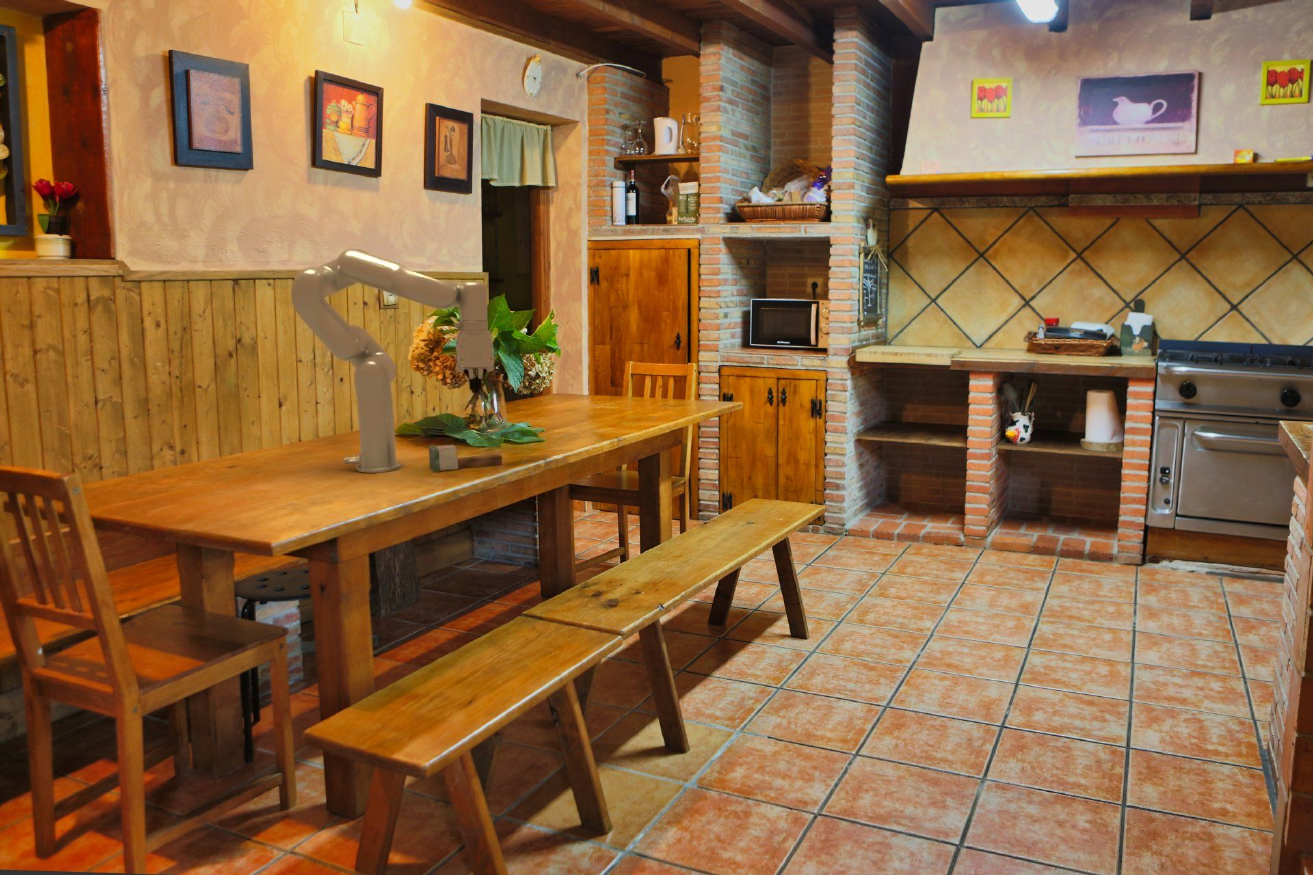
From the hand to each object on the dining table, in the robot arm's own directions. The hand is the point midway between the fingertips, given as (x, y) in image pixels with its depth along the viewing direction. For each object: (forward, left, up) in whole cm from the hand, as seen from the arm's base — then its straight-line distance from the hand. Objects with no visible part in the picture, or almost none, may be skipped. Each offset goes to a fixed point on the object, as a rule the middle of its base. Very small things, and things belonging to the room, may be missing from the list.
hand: (475, 392), depth 290 cm
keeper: (-9, 0, -21) cm, 23 cm away
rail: (-3, 0, -21) cm, 21 cm away
